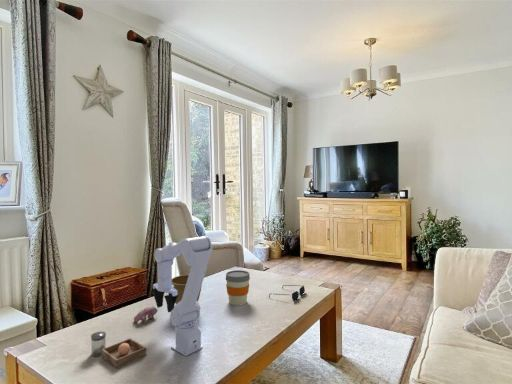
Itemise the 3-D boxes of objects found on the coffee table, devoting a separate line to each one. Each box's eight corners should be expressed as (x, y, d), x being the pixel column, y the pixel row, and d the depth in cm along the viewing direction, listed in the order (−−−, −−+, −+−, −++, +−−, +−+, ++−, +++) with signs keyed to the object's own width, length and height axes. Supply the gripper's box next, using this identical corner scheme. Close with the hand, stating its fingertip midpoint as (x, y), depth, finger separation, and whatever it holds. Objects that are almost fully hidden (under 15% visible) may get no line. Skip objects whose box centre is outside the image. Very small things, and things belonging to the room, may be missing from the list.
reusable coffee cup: (251, 298, 172) (251, 270, 172) (248, 307, 160) (248, 277, 159) (228, 297, 174) (228, 269, 173) (223, 306, 161) (223, 276, 161)
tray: (146, 355, 116) (146, 347, 116) (116, 368, 107) (116, 360, 107) (130, 345, 123) (130, 337, 123) (101, 357, 114) (101, 349, 114)
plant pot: (164, 314, 151) (164, 281, 150) (185, 304, 164) (185, 273, 163) (189, 321, 144) (188, 286, 143) (208, 309, 157) (208, 277, 157)
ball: (132, 352, 117) (132, 341, 116) (125, 358, 113) (125, 347, 112) (122, 350, 118) (122, 340, 117) (115, 356, 114) (115, 345, 113)
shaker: (108, 352, 117) (108, 334, 117) (94, 358, 114) (94, 339, 113) (102, 348, 120) (102, 330, 120) (89, 353, 117) (88, 335, 117)
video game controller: (137, 327, 141) (141, 315, 139) (132, 320, 144) (136, 308, 142) (156, 319, 149) (160, 308, 147) (151, 313, 152) (154, 301, 149)
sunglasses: (293, 303, 165) (292, 294, 166) (268, 302, 173) (267, 292, 173) (305, 293, 180) (304, 284, 180) (282, 292, 188) (281, 284, 188)
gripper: (183, 277, 131) (183, 310, 131) (162, 271, 140) (163, 302, 140) (168, 282, 125) (169, 316, 126) (148, 275, 135) (148, 306, 135)
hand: (165, 309), depth 133 cm, fingers open, 7 cm apart
